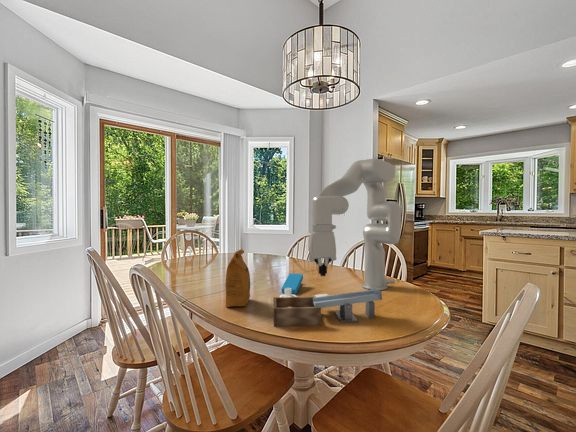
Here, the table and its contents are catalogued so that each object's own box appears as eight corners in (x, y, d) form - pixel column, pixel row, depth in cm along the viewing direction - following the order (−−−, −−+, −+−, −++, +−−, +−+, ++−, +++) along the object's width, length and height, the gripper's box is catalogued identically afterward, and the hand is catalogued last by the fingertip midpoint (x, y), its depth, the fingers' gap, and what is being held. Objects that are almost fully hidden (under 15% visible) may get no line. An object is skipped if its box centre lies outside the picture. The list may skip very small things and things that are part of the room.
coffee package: (253, 298, 125) (253, 248, 125) (246, 309, 113) (246, 253, 112) (231, 298, 127) (231, 248, 126) (221, 308, 114) (221, 252, 113)
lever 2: (370, 289, 115) (369, 282, 115) (382, 299, 103) (381, 291, 103) (311, 297, 114) (310, 290, 114) (315, 308, 102) (314, 300, 101)
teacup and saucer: (290, 302, 122) (290, 293, 122) (274, 299, 126) (274, 290, 126) (300, 296, 129) (300, 287, 129) (285, 294, 134) (285, 285, 133)
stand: (368, 311, 111) (368, 296, 111) (377, 321, 101) (377, 305, 101) (334, 311, 110) (334, 296, 110) (340, 322, 100) (340, 305, 100)
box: (315, 312, 110) (315, 296, 110) (320, 325, 98) (320, 307, 98) (273, 313, 109) (273, 297, 109) (273, 326, 97) (273, 308, 97)
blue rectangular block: (296, 303, 133) (305, 282, 150) (295, 289, 131) (304, 270, 148) (282, 301, 135) (292, 281, 152) (281, 288, 133) (291, 269, 150)
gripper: (339, 227, 115) (339, 272, 116) (301, 228, 115) (302, 273, 116) (343, 229, 108) (344, 277, 109) (304, 230, 107) (304, 278, 108)
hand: (322, 275), depth 112 cm, fingers closed
